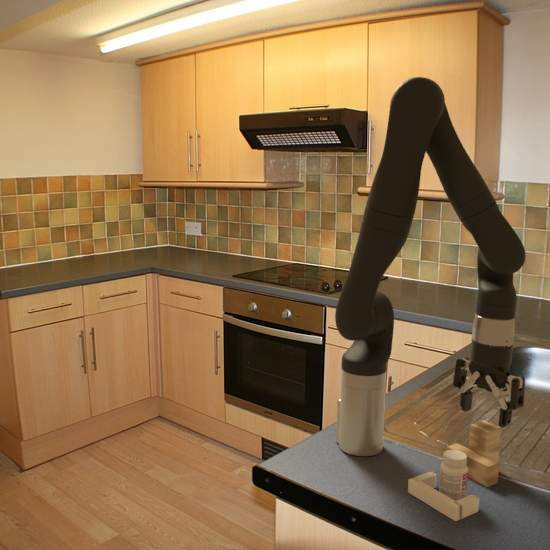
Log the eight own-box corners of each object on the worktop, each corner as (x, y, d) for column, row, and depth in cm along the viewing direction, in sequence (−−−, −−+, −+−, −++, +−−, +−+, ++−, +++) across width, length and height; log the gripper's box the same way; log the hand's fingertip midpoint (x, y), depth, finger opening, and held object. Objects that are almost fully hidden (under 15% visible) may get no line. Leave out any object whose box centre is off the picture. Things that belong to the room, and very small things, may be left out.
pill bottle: (467, 507, 105) (470, 462, 104) (438, 504, 106) (441, 459, 105) (464, 493, 110) (467, 450, 108) (437, 490, 111) (440, 447, 109)
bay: (407, 492, 110) (408, 479, 109) (430, 483, 113) (430, 471, 112) (455, 521, 101) (456, 507, 100) (478, 511, 104) (479, 498, 103)
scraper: (445, 465, 120) (448, 422, 119) (468, 456, 124) (471, 415, 122) (487, 487, 112) (490, 441, 110) (510, 477, 116) (514, 433, 114)
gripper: (449, 331, 118) (442, 409, 122) (514, 351, 107) (504, 436, 110) (473, 326, 123) (466, 401, 126) (538, 345, 111) (528, 427, 114)
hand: (484, 418), depth 118 cm, fingers open, 8 cm apart
